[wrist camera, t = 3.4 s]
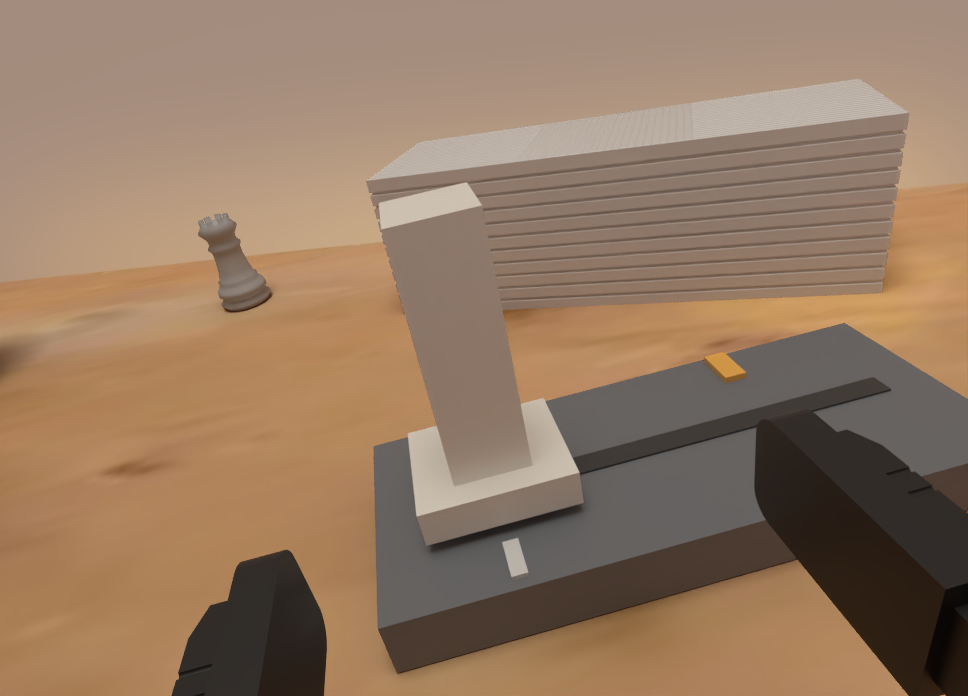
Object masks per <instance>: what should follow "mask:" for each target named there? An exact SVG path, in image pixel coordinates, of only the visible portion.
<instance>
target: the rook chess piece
mask: <svg viewBox="0 0 968 696" xmlns="http://www.w3.org/2000/svg"><path fill="white" fill-rule="evenodd" d="M214 216H215V219H216V220H213V221H211V219H210V217H206V218H204V220H205V223H206V224H204V222H203V220H200V221H199V222H198V224H199V226H200V230H199V233H198V235H199V236H200V237H201V238H203V239H204V240H206V241H207V242H208V244H209V248H208V251H209V252H211V253H212V254H213V256H214V259H215V261H216V265H217V268H218V272H219V278H220V281H219V282H218V283H219V285H220V287H219V290H218V294H219V298H221V299H223V300H224V301H223V302H222V306H223V307H224V308H226V309H227V310H230V311H242V310H247V309H250V308H253V307H255V306H257V305H259V304H261V303H263V302H264V301H265V300H267V298H268V297H269V294H270V291H271V290H270V288H269V287H267V286H265V284H266V280H265V278H264V277H263V276H262V275H260V274H258V273H257V271H256V270H255V269H253V268H252V266H251V265H250V264H249V262H248V261H247V259H246V257H245V255H244V254H243V252H242V250H241V247H240V239H238V238H236V236H235V233H234V232H235V228H236V225H237V224H236V222H234V221H232V220H231V219H229V216H228V214H227V213H224V214H222V216H223V219H222V217H221V215H220V214H216V215H214Z"/></svg>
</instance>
